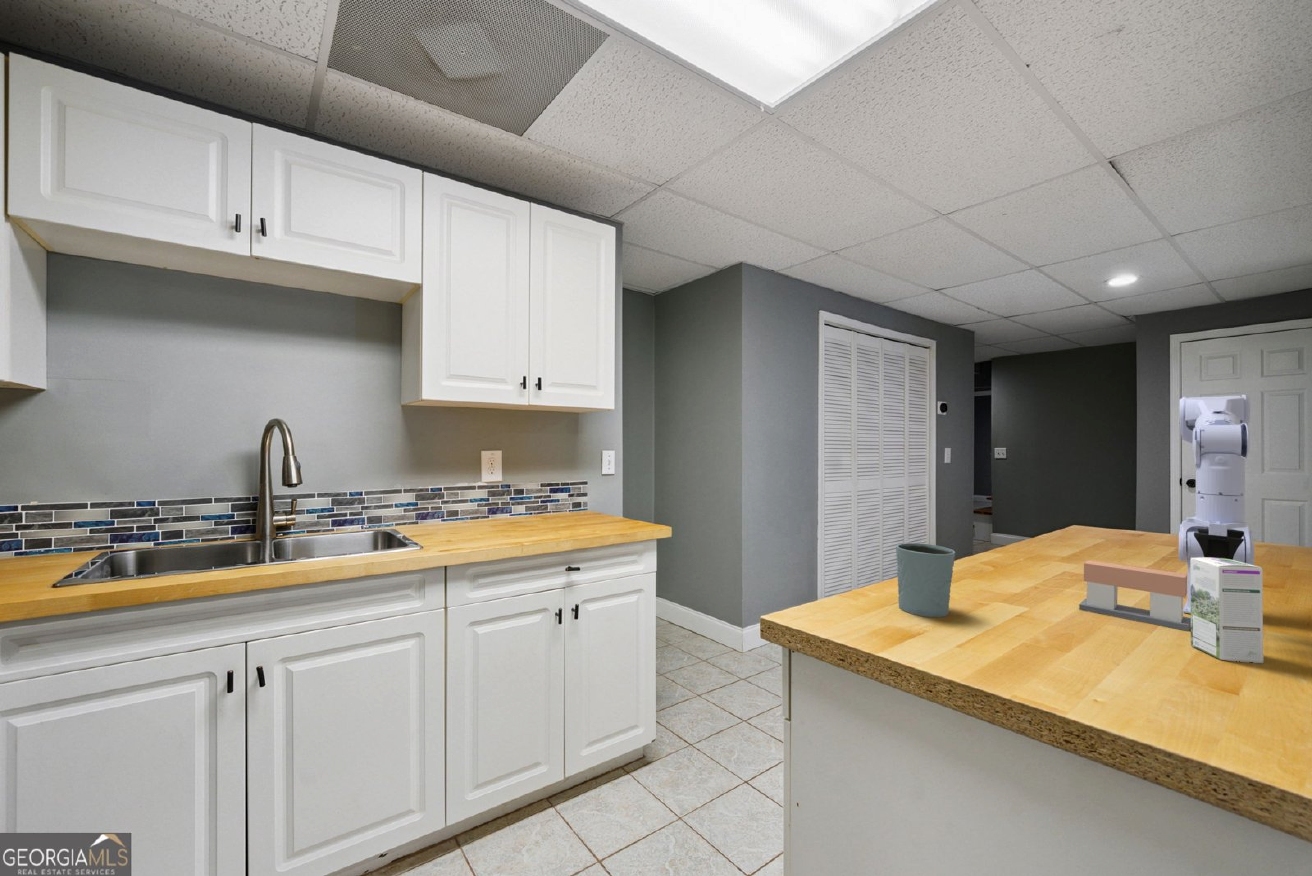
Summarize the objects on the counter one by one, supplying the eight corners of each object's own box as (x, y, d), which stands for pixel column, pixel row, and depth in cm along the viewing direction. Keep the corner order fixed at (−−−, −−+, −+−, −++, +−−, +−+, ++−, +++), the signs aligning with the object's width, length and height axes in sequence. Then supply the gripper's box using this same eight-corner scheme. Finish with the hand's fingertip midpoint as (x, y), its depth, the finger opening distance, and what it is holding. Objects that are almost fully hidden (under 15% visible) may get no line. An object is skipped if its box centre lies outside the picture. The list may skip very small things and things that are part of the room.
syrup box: (1265, 664, 77) (1266, 566, 77) (1218, 660, 78) (1218, 564, 78) (1231, 649, 83) (1232, 558, 83) (1187, 645, 84) (1188, 555, 84)
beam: (1087, 577, 105) (1088, 560, 105) (1187, 593, 94) (1187, 574, 94) (1083, 581, 102) (1083, 563, 102) (1185, 597, 92) (1185, 577, 92)
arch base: (1085, 603, 106) (1085, 576, 106) (1191, 623, 94) (1191, 593, 95) (1079, 609, 102) (1079, 581, 102) (1188, 631, 91) (1188, 599, 91)
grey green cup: (889, 600, 106) (889, 541, 106) (941, 603, 105) (942, 543, 105) (905, 617, 96) (906, 552, 96) (964, 620, 95) (964, 554, 95)
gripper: (1189, 490, 97) (1189, 563, 97) (1182, 494, 87) (1182, 575, 87) (1246, 493, 92) (1246, 570, 92) (1246, 498, 82) (1245, 584, 82)
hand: (1219, 573), depth 89 cm, fingers open, 7 cm apart
